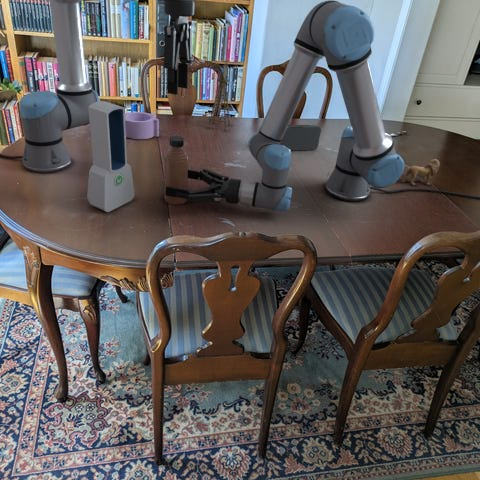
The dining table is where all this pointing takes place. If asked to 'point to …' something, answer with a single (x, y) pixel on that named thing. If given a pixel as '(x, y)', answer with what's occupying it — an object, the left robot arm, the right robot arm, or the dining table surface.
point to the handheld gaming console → (301, 137)
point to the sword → (396, 134)
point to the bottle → (175, 172)
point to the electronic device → (109, 158)
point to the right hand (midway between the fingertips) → (172, 181)
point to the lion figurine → (422, 171)
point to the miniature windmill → (222, 80)
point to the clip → (141, 125)
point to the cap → (176, 141)
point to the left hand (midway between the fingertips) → (177, 90)
